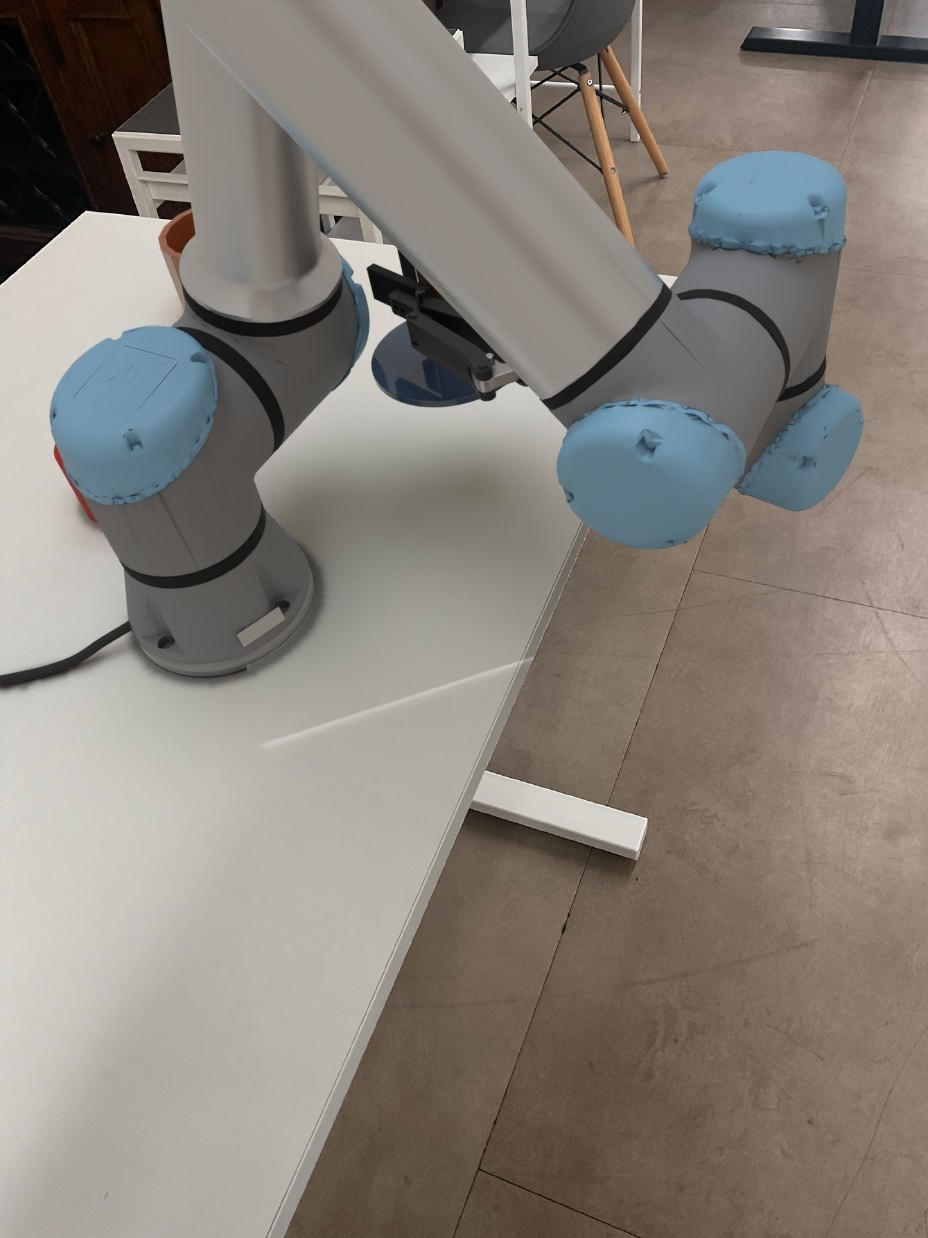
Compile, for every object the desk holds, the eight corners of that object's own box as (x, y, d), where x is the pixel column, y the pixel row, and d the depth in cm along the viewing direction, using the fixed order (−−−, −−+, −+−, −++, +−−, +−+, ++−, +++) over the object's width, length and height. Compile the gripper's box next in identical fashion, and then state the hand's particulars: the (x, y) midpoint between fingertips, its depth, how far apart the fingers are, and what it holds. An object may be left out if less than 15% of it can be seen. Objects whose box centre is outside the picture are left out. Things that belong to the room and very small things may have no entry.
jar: (195, 349, 109) (164, 270, 102) (182, 294, 116) (153, 217, 109) (298, 320, 110) (276, 240, 103) (279, 267, 118) (257, 189, 110)
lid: (392, 432, 76) (362, 315, 69) (360, 344, 85) (330, 230, 77) (550, 385, 77) (537, 264, 69) (503, 302, 85) (487, 186, 78)
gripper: (551, 480, 66) (326, 362, 79) (696, 359, 72) (465, 267, 85) (540, 387, 60) (299, 275, 73) (698, 263, 66) (451, 180, 79)
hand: (389, 271), depth 79 cm, fingers closed on lid, 2 cm apart
